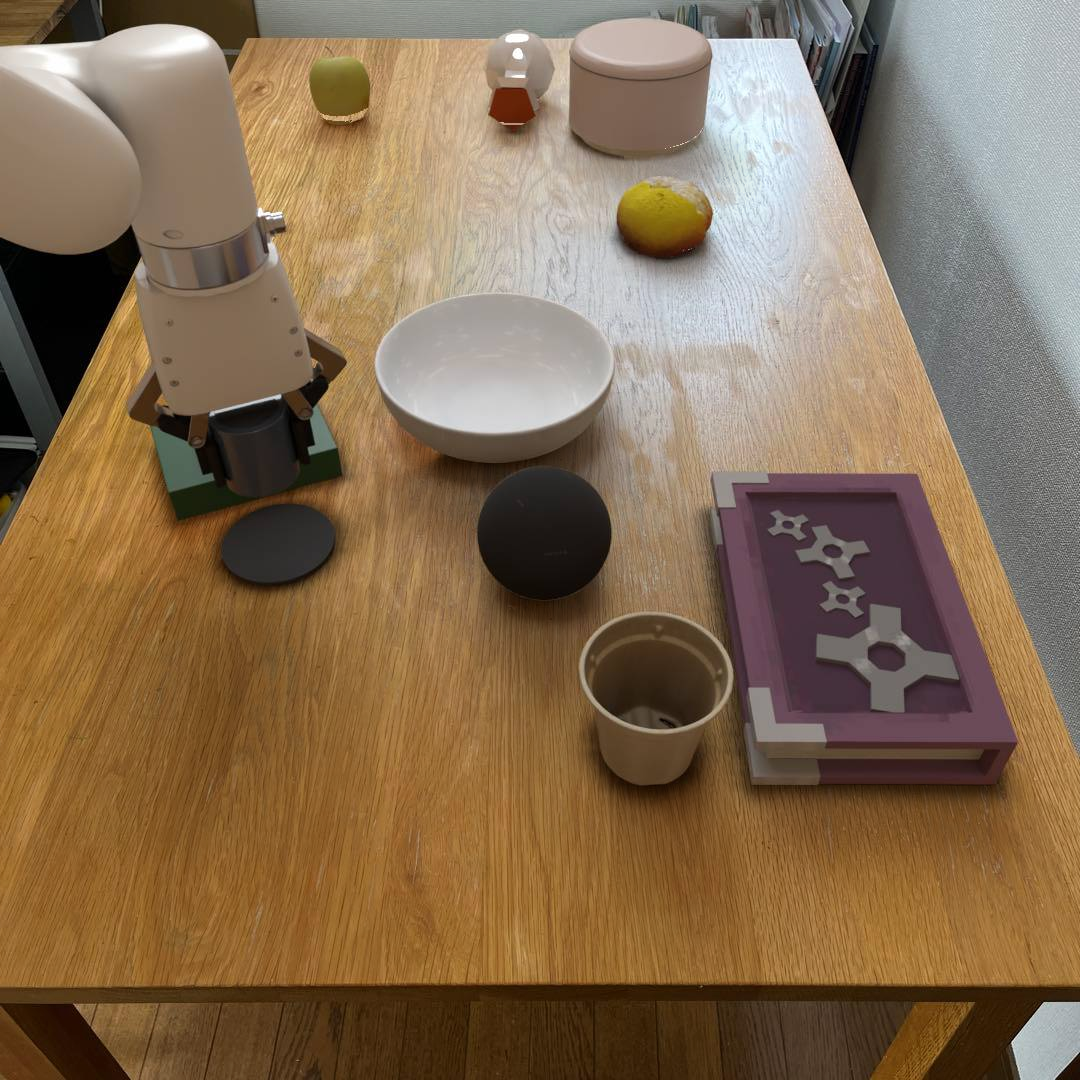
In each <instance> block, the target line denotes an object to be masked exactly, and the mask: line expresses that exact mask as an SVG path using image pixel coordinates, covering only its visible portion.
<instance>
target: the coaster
mask: <svg viewBox="0 0 1080 1080" xmlns="http://www.w3.org/2000/svg"><path fill="white" fill-rule="evenodd" d="M336 539H337V538H336V531H335V528H334V525H333V523H332V521H331V520H330V519H329V517H328V516H326V515H325V514H324V513H323V512H321V511H320V510H319V509H317V508H314V507H312V506H309V505H305V504H301V503H291V502H289V503H288V502H286V503H274V504H269V505H266V506H263V507H259V508H257V509H254V510H252V511H250V512H248V513H246V514H245V515H243V516H242V517H240V518H239V519H238V520H236V521H234V523H233V524H232V525H231V526H230V527H229V529H228V530H227V531H226V533H225V535H224V536H223V539H222V542H221V546H220V554H221V559H222V562H223V565H224V566H225V568H226V569H227V570H228V572H229V573H230V574H231V575H232V576H233V577H235V578H237V579H238V580H241V581H242V582H245V583H247V584H251V585H254V586H262V587H263V586H264V587H273V586H282V585H287V584H291V583H295V582H298V581H301V580H303V579H304V578H307V577H309V576H311V575H313V574H314V573H315V572H317V571H318V570H319V569H321V568H322V567H323V566H324V565H325V564H326V563H327V561H328V560H329V559H330V557H331V556H332V554H333V552H334V549H335V546H336Z"/></svg>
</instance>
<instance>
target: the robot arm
mask: <svg viewBox="0 0 1080 1080" xmlns="http://www.w3.org/2000/svg"><path fill="white" fill-rule="evenodd" d="M130 226H131V227H132V231H133V233H134V237H135V240H136V243H137V246H138V250H139V253H140V256H141V259H142V261H141V262H140V263H139V264H138V265H137V266H136V268H135V269H134V286H135V294H136V301H137V307H138V311H139V317H140V322H141V325H142V329H143V334H144V337H145V341H146V345H147V348H148V352H149V356H150V359H151V362H150V364H149V366H148V367H147V369H146V370H145V372H144V373H143V375H142V377H141V378H140V381H139V382H137V385H136V386H135V388H134V389H133V391H132V393H131V394H130V395H129V397H128V399H127V401H126V403H125V405H126V409H127V414H128V417H129V419H131V420H134V421H136V422H139V423H142V424H145V425H147V426H149V427H150V426H152V427H153V426H155V427H158V428H160V430H161V431H163V432H165V433H167V434H169V435H172V436H174V437H177V438H179V439H182V440H184V441H187V442H188V444H189V446H190V447H192V448H194V449H195V452H196V455H197V458H198V462H199V465H200V468H201V471H202V474H203V475H206V474H210V473H213V476H214V479H215V483H216V486H217V489H219V488H222V487H224V485H226V481H225V477H224V474H223V470H222V467H221V464H220V460H219V457H218V454H217V450H216V447H215V444H214V441H213V438H212V436H211V433H210V429H209V426H208V423H209V416H210V412H212V411H216V410H220V409H224V408H228V407H232V406H237V405H241V404H245V403H249V402H252V401H256V400H260V399H264V398H268V397H272V396H276V395H280V394H281V395H282V397H283V398H284V399H285V402H286V406H287V410H288V415H289V419H290V424H291V428H292V433H293V437H294V441H295V446H296V450H297V455H298V458H299V461H300V463H301V464H304V465H307V464H310V463H311V461H310V456H309V452H308V447H311V446H314V445H315V441H314V436H313V431H312V426H311V421H310V418H311V417H312V416H313V414H314V411H313V408H314V407H315V406H316V404H318V403H319V402H320V400H321V399H322V398H323V397H324V396H325V394H326V393H327V391H328V390H329V387H330V384H331V382H334V381H335V380H336V378H337V377H338V376H339V375H340V374H341V373H342V371H343V370H344V369H345V367H346V366H347V364H348V361H347V358H346V356H345V355H344V353H343V350H341V349H340V348H339V347H337V346H335V345H333V344H331V342H329V341H326V340H325V339H323V338H322V337H320V336H319V335H316V334H315V333H313V332H312V331H310V330H308V329H306V328H305V326H304V324H303V320H302V317H301V313H300V309H299V305H298V302H297V299H296V297H295V294H294V291H293V288H292V286H291V283H290V280H289V276H288V273H287V271H286V267H285V264H284V262H283V260H282V257H281V255H280V253H279V251H278V249H277V246H276V245H275V243H274V242H273V241H271V238H276V237H277V236H276V235H278V234H279V235H280V234H283V233H287V226H286V221H285V217H284V214H283V212H282V210H278V211H273V212H270V210H267V211H263V209H262V207H259V206H258V202H257V197H256V192H255V188H254V184H253V178H252V174H251V169H250V164H249V159H248V155H247V150H246V145H245V140H244V136H243V130H242V126H241V121H240V118H239V113H238V108H237V103H236V99H235V94H234V89H233V85H232V80H231V74H230V71H229V67H228V64H227V60H226V56H225V54H224V52H223V50H222V49H221V47H220V45H218V43H217V41H216V40H214V38H213V37H212V36H210V35H209V34H208V33H207V32H204V31H202V30H200V29H198V28H196V27H192V26H187V25H181V24H173V23H155V24H154V23H153V24H146V25H138V26H134V27H133V26H132V27H129V28H125V29H122V30H119V31H117V32H114V33H113V34H109V35H107V36H106V37H104V38H101V39H99V40H91V41H81V42H65V43H64V42H63V43H45V44H44V43H42V44H17V45H3V46H0V238H2V239H4V240H6V241H9V242H12V243H14V244H15V245H19V246H22V247H25V248H28V249H31V250H34V251H38V252H41V253H42V252H43V253H47V254H48V253H49V254H55V255H81V254H86V253H87V254H88V253H92V252H95V251H98V250H100V249H104V248H105V247H107V246H109V245H110V244H112V243H114V242H115V241H117V240H118V239H119V238H120V237H121V236H123V235H124V233H126V231H128V229H129V227H130ZM312 359H313V360H314V361H317V363H316V364H315V367H314V366H313V362H312ZM162 395H163V398H164V400H165V403H166V404H163V405H160V403H158V400H159V399H160V397H161V396H162Z"/></svg>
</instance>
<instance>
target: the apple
mask: <svg viewBox="0 0 1080 1080" xmlns="http://www.w3.org/2000/svg"><path fill="white" fill-rule="evenodd" d="M324 47H325V49H327V50H328V51H329V53H330V54H331V55H332V56H322V57H319V58H317V60H316V61H314V63H313V64H312V66H311V68H310V72H309V75H308V76H309V78H308V83H309V84H308V85H309V91H310V94H311V95H310V96H311V98H312V101H313V104H314V106H315V108H316V110H317V112H318V111H319V112H320V113H322V114H324V115H329V116H336V117H337V116H348V115H351V114H355V113H358V112H360V111H363V110H364V109H366V108H368V109H369V107H370V99H371V98H370V97H371V80H370V76H369V73H368V71H367V69H366V67H365V66H364V64H363V63H362V62H361V61H360V60H359V59H357V58H355V57H352V56H347V55H344V56H334V53H333V52H332V51H331V49H330V48H329V47H328V46H327V45H325V46H324ZM368 106H369V107H368ZM319 112H318V113H319ZM322 119H323V120H324V121H325V122H327V123H329V124H330V125H332V126H333V125H335V126H346V125H350V124H351V123H350V122H351V121H352V120H350V122H349V121H346V122H345V121H332V120H326V119H324V118H322ZM349 123H350V124H349Z"/></svg>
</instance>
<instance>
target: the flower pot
mask: <svg viewBox="0 0 1080 1080" xmlns="http://www.w3.org/2000/svg"><path fill="white" fill-rule="evenodd" d="M578 677H579V682H580V686H581V688H582V691H583V693H584V695H585V697H586V699H587V701H588V702H589V703H590V705H591V707H592V708H593V710H594V711H593V712H594V716H595V721H596V728H597V733H598V740H599V750H600V753H601V756H602V758H603V761H604V763H605V764H606V766H607V767H608V768H609V769H610V771H612V772H613V773H614V774H615V775H616V776H617V777H619V778H620V779H622V780H624V781H626V782H627V783H631V784H633V785H636V786H643V787H644V786H651V785H666V784H670V783H671V782H673V781H675V780H676V779H678V778H679V777H681V776H682V775H684V773H685V772H686V771H687V769H688V768H689V766H690V765H691V763H692V760H693V756H694V754H695V752H696V750H697V747H698V745H699V743H700V741H701V739H702V737H703V734H704V732H705V730H706V728H707V725H708V724H709V723H710V722H711V721H713V720H714V719H715V718H716V717H717V716H718V715H720V713H721V712H722V711H723V710H724V708H725V707H726V705H727V703H728V701H729V699H730V696H731V695H732V691H733V687H734V669H733V663H732V661H731V658H730V656H729V654H728V652H727V650H726V649H725V647H724V646H723V644H722V642H721V641H720V640H719V639H718V638H717V637H716V636H715V635H713V633H712V632H710V631H709V630H708V629H706V628H705V627H703V626H702V625H700V624H699V623H696V621H693V620H692V619H689V618H686V617H684V616H681V615H679V614H673V613H670V612H664V611H651V610H648V611H646V610H645V611H636V612H632V613H626V614H623V615H620V616H618V617H615V618H612V619H611V620H609V621H608V622H606V623H604V624H603V625H602V626H600V627H599V628H597V629H596V631H594V632H593V634H592V635H591V636H590V637H589V638H588V640H587V641H586V643H585V645H584V647H583V648H582V651H581V655H580V658H579V664H578ZM661 720H664V721H666V722H668V723H670V724H672V725H673V726H674V728H670V727H669V726H668V725H667V724H666V723H663V722H662V721H661Z"/></svg>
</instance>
